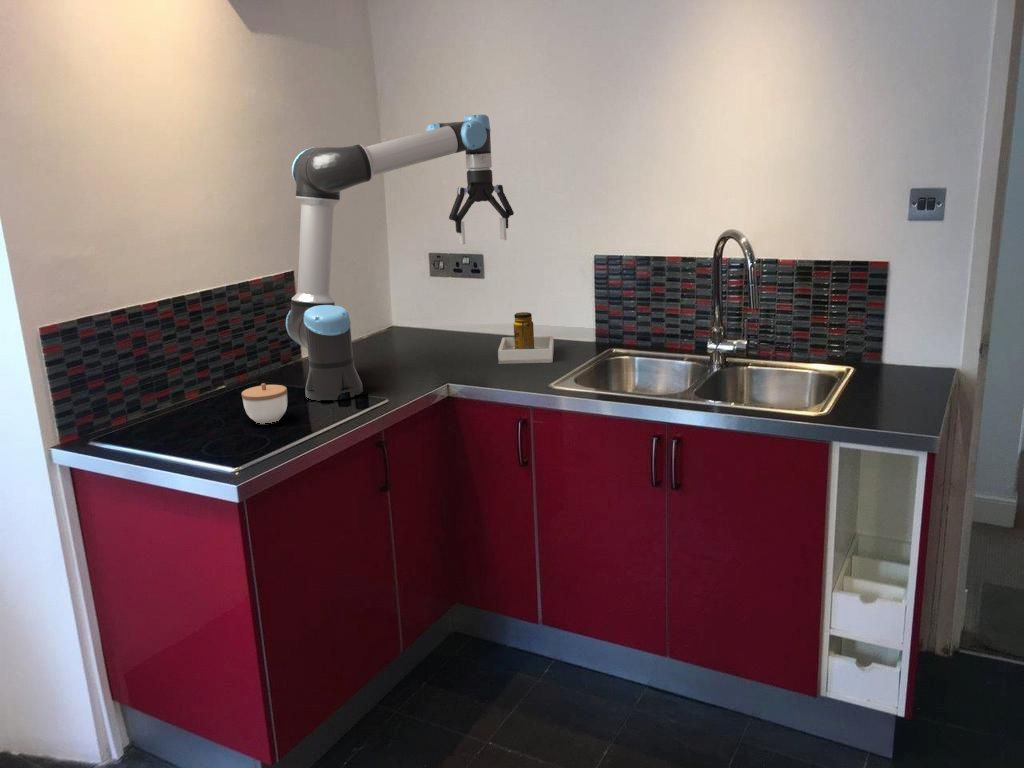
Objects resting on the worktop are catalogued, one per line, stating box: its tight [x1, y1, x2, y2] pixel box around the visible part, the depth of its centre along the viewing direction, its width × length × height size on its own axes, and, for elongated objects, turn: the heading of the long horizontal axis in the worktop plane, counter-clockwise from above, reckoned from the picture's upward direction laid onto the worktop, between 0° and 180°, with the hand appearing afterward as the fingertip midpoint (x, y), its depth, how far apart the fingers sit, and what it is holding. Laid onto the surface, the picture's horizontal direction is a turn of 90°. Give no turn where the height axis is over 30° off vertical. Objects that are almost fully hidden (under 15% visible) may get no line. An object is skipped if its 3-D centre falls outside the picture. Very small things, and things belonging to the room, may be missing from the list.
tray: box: [497, 335, 555, 365], centre depth 272 cm, size 16×18×4 cm
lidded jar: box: [241, 382, 288, 425], centre depth 219 cm, size 11×11×9 cm
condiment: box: [513, 311, 537, 349], centre depth 273 cm, size 7×8×12 cm
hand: (483, 241), depth 269 cm, fingers open, 13 cm apart
